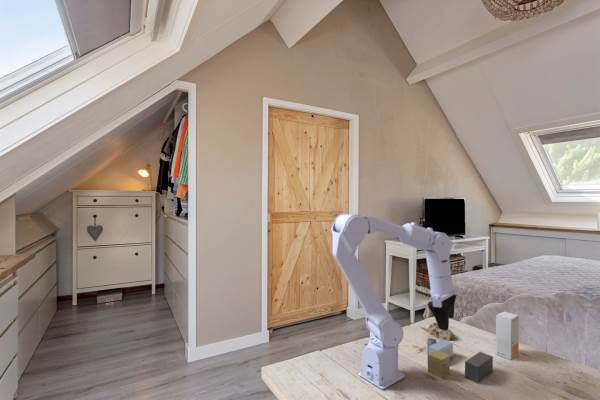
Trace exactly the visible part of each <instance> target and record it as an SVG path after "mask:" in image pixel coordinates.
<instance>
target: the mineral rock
mask: <svg viewBox="0 0 600 400" xmlns="http://www.w3.org/2000/svg"><path fill="white" fill-rule="evenodd" d="M427 333H428V334H430V335H432V336H433V337H436V338H438V339H441V340H445V341H448V342H450V341H451V342H454V340H456V336H455V334H454V332H453V331H452V330H451V329H450V328H448V330H441V329H439V327H438V324H437V322H436V321H435V322H434V321H433V322H432V323H431V324H430V325H429V327H428V329H427Z"/></svg>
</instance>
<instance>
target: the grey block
mask: <svg viewBox="0 0 600 400" xmlns="http://www.w3.org/2000/svg"><path fill="white" fill-rule="evenodd" d="M493 362H494V356H493V355H491V354H490V355H489V354H488V353H485V352H481V351H479V352H477V353H476V354H474V355H473V356H471V357H470V358H467V360H465V361H464V379H467V380H469V381H471V382H474V383H476V384H480V383H482V381H484V380H485V379H487V378H488V377H489V376H490V375H491V374H493V372H494V371H493V370H494V363H493Z"/></svg>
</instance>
